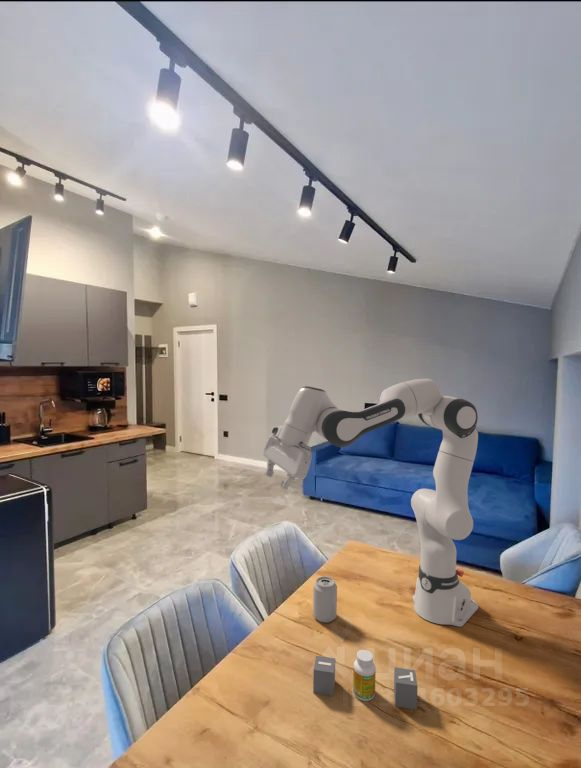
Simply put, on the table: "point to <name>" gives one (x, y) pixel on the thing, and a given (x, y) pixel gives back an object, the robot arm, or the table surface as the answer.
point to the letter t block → (405, 688)
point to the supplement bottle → (364, 676)
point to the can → (325, 599)
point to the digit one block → (324, 675)
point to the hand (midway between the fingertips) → (275, 481)
